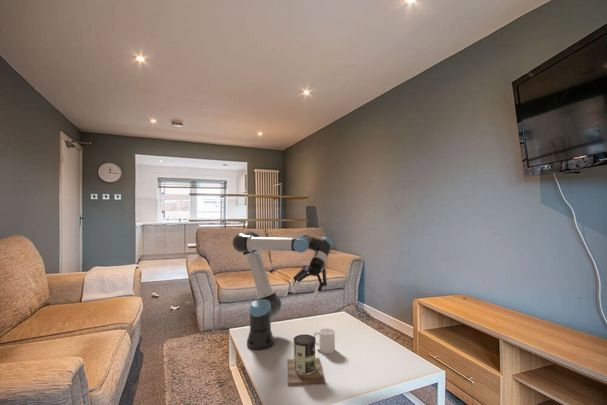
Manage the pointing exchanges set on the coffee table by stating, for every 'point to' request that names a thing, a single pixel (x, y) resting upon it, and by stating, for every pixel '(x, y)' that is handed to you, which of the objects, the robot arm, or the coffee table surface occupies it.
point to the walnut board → (305, 379)
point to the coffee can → (304, 354)
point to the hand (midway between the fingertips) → (303, 294)
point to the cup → (326, 340)
